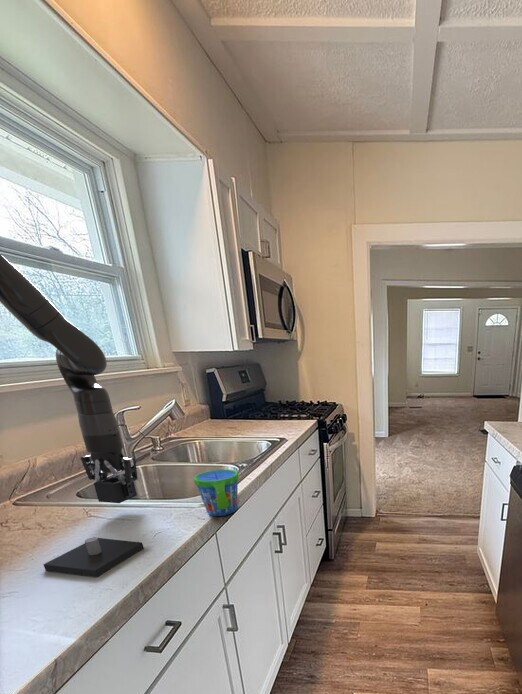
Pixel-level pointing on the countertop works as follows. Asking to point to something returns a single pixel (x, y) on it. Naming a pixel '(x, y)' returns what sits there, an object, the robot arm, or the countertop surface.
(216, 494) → the snack cup
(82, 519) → the countertop surface
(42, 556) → the countertop surface
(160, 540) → the countertop surface
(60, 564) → the base pad
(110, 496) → the socket block
